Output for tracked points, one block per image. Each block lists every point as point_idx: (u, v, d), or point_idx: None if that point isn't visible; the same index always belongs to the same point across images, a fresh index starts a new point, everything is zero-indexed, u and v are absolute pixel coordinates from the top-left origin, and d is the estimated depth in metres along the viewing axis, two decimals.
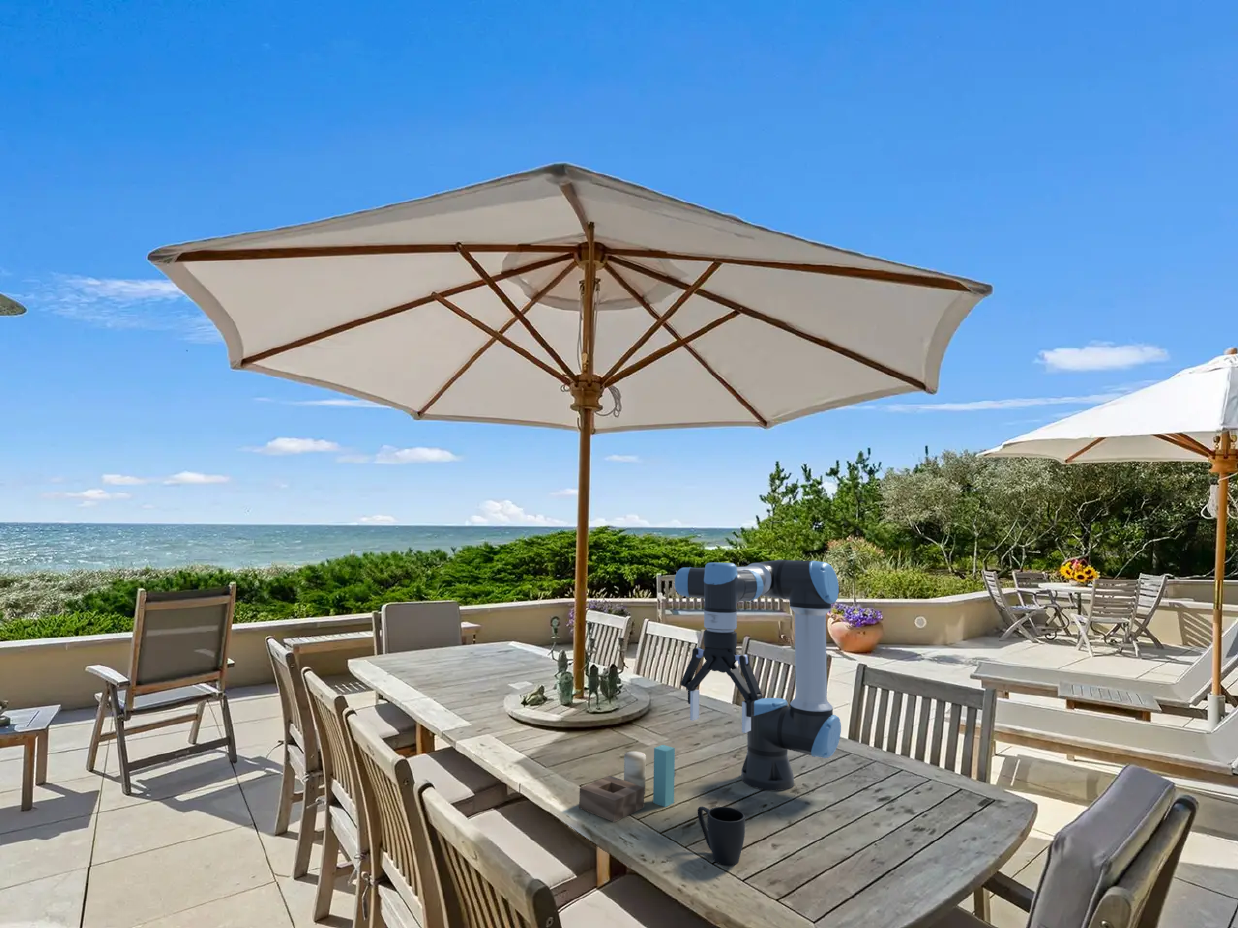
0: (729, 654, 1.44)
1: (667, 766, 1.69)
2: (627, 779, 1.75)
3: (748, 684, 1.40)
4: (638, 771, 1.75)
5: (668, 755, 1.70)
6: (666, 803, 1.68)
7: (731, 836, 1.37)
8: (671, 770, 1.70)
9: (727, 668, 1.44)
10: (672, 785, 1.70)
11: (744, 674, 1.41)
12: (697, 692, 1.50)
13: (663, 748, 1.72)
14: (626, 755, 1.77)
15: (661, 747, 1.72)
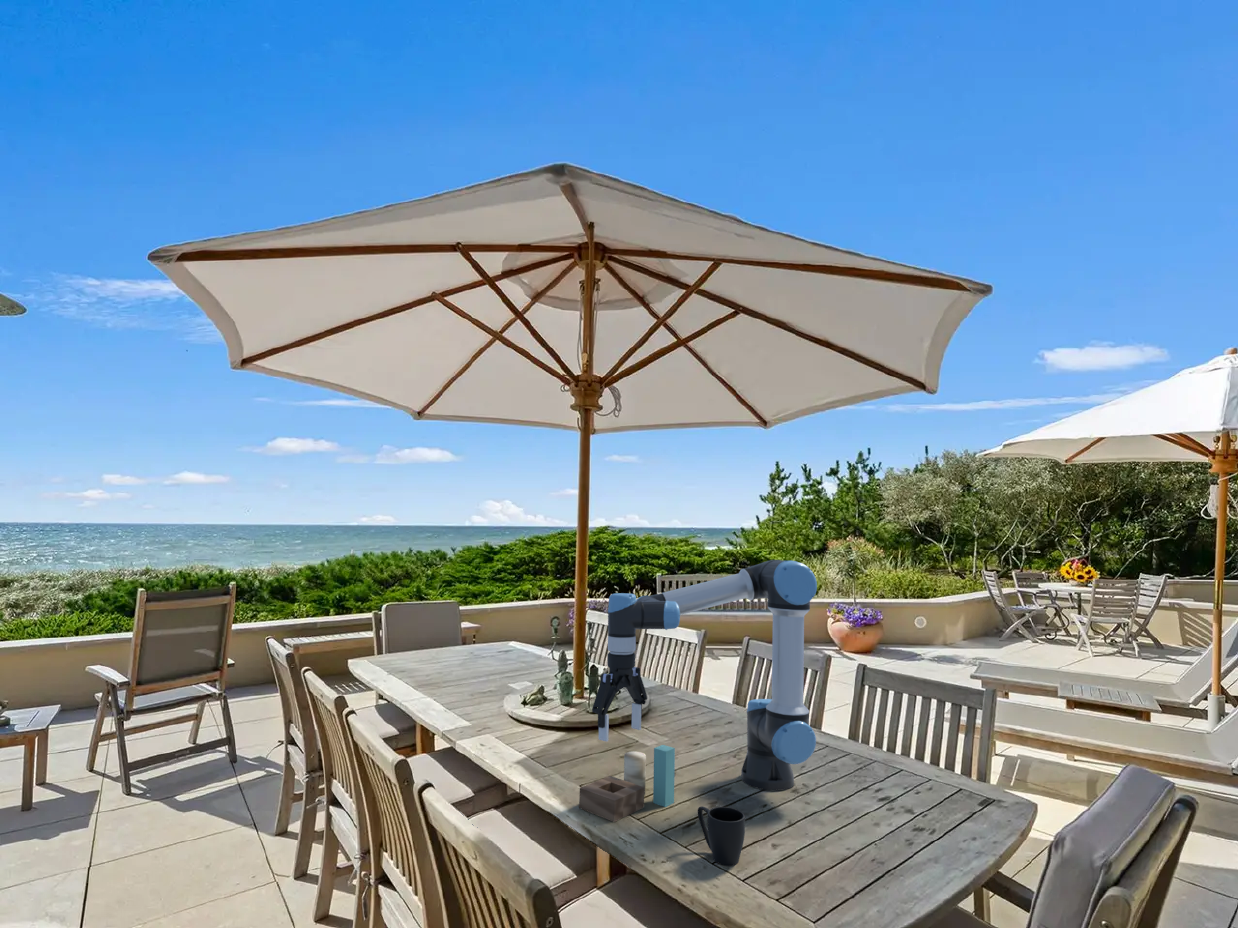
0: None
1: (667, 766, 1.69)
2: (627, 779, 1.75)
3: None
4: (638, 771, 1.75)
5: (668, 755, 1.70)
6: (666, 803, 1.68)
7: (731, 836, 1.37)
8: (671, 770, 1.70)
9: None
10: (672, 785, 1.70)
11: None
12: (637, 706, 1.74)
13: (663, 748, 1.72)
14: (626, 755, 1.77)
15: (661, 747, 1.72)
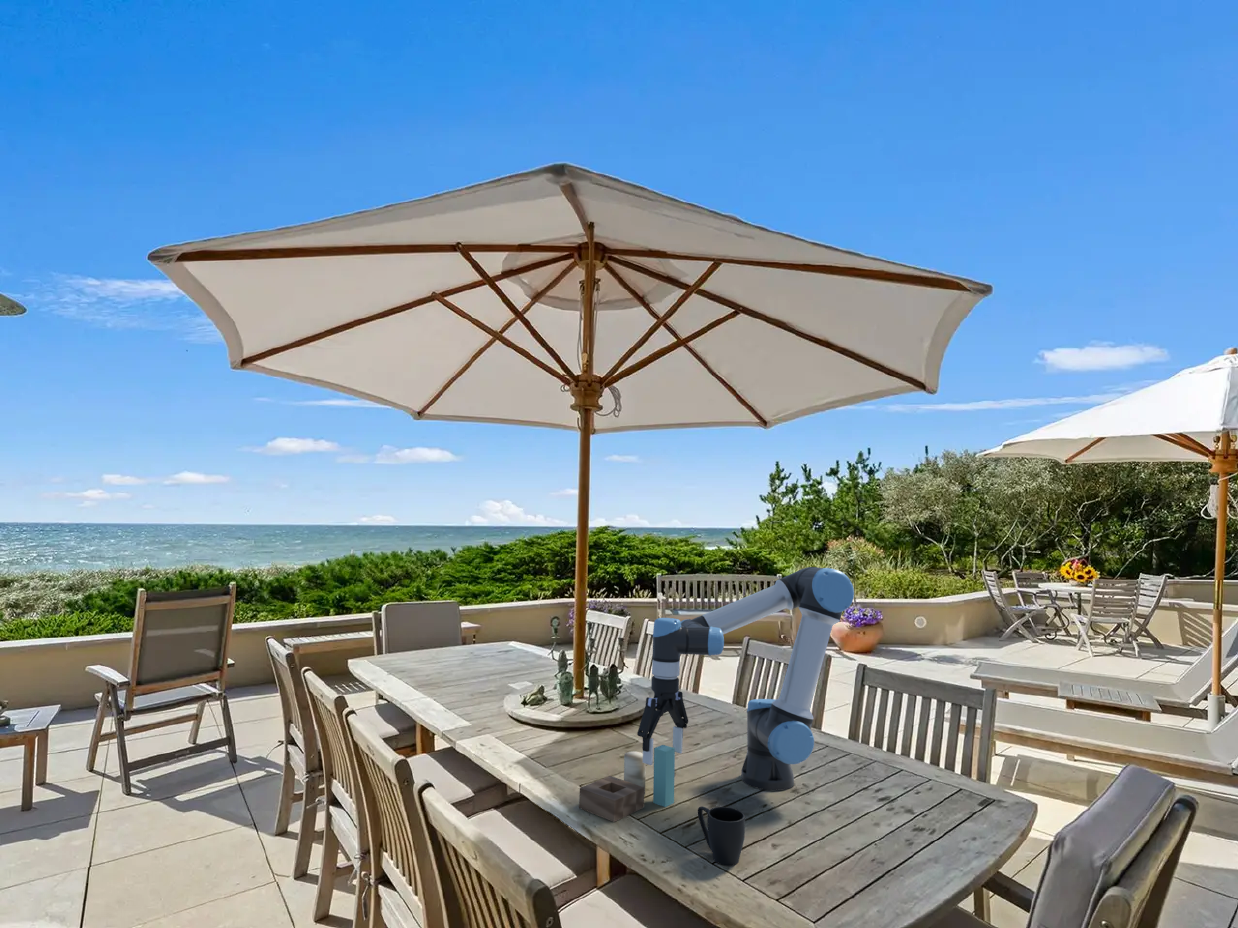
0: None
1: (667, 766, 1.69)
2: (627, 779, 1.75)
3: None
4: (638, 771, 1.75)
5: (668, 755, 1.70)
6: (666, 803, 1.68)
7: (731, 836, 1.37)
8: (671, 770, 1.70)
9: None
10: (672, 785, 1.70)
11: None
12: (678, 729, 1.77)
13: (663, 748, 1.72)
14: (626, 755, 1.77)
15: (661, 747, 1.72)
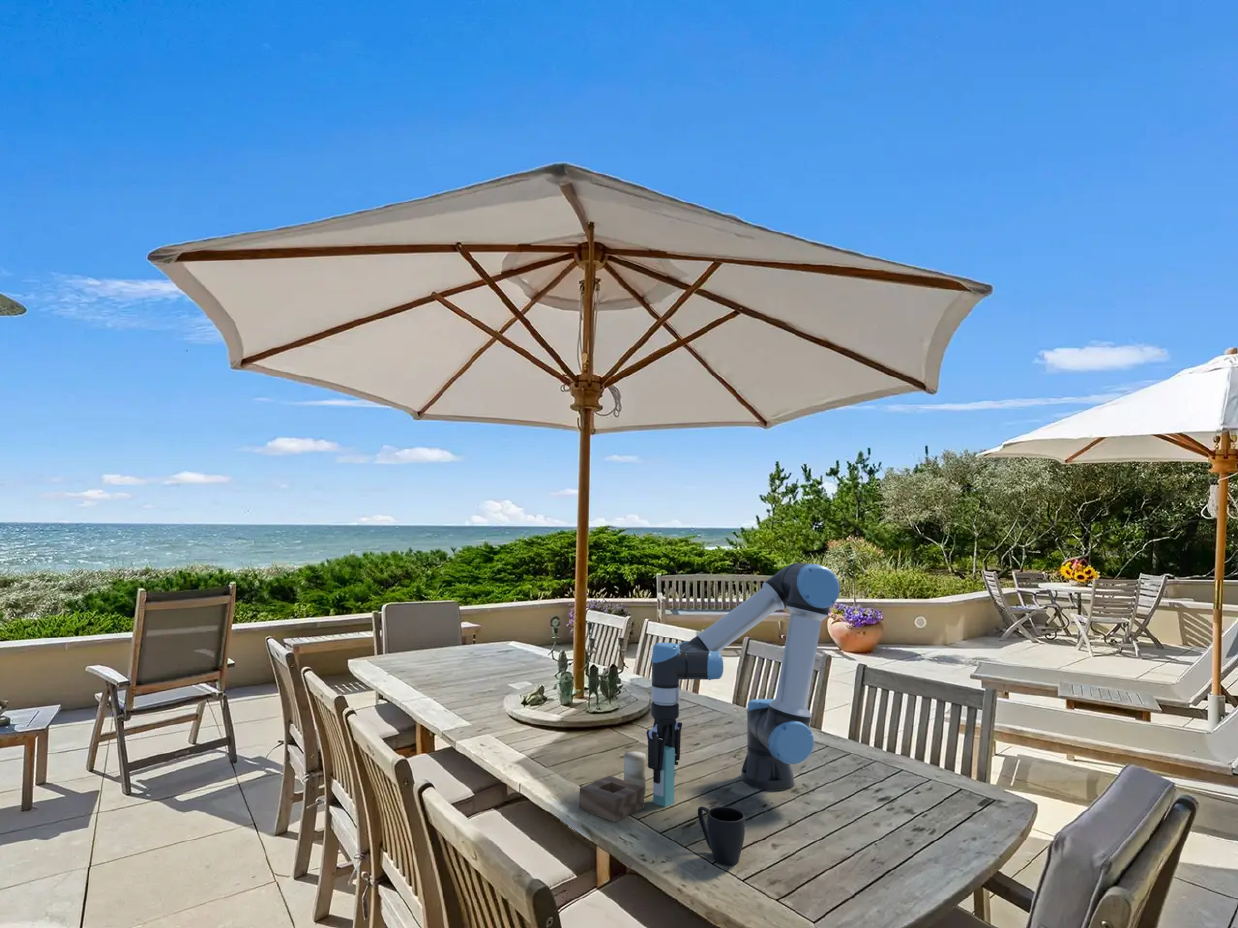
0: None
1: (667, 766, 1.69)
2: (627, 779, 1.75)
3: None
4: (638, 771, 1.75)
5: (668, 755, 1.70)
6: (666, 803, 1.68)
7: (731, 836, 1.37)
8: (671, 770, 1.70)
9: None
10: (672, 785, 1.70)
11: None
12: None
13: None
14: (626, 755, 1.77)
15: None
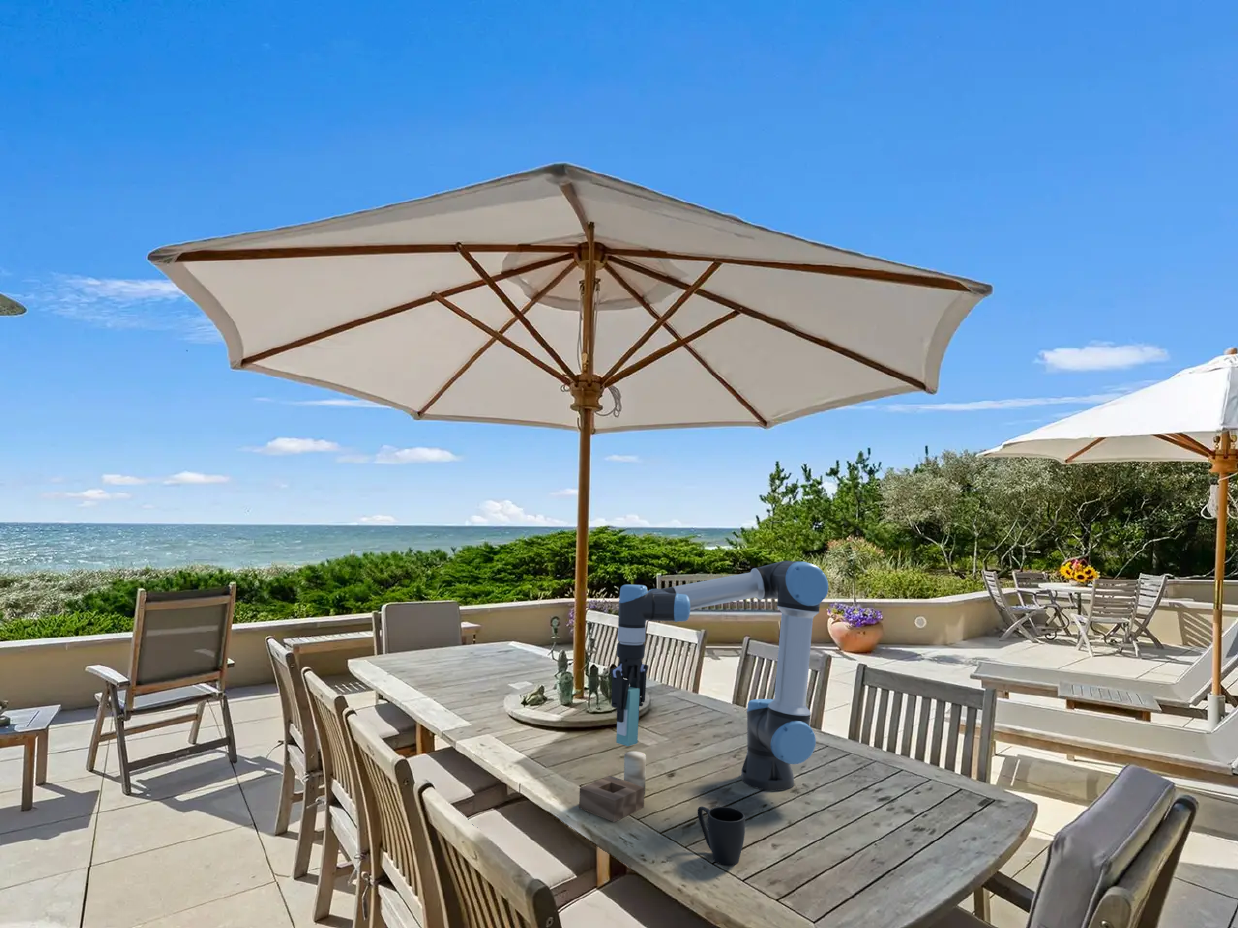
0: None
1: (631, 705, 1.68)
2: (627, 779, 1.75)
3: None
4: (638, 771, 1.75)
5: (632, 694, 1.69)
6: (629, 742, 1.67)
7: (731, 836, 1.37)
8: (635, 710, 1.70)
9: None
10: (636, 725, 1.69)
11: None
12: None
13: None
14: (626, 755, 1.77)
15: None
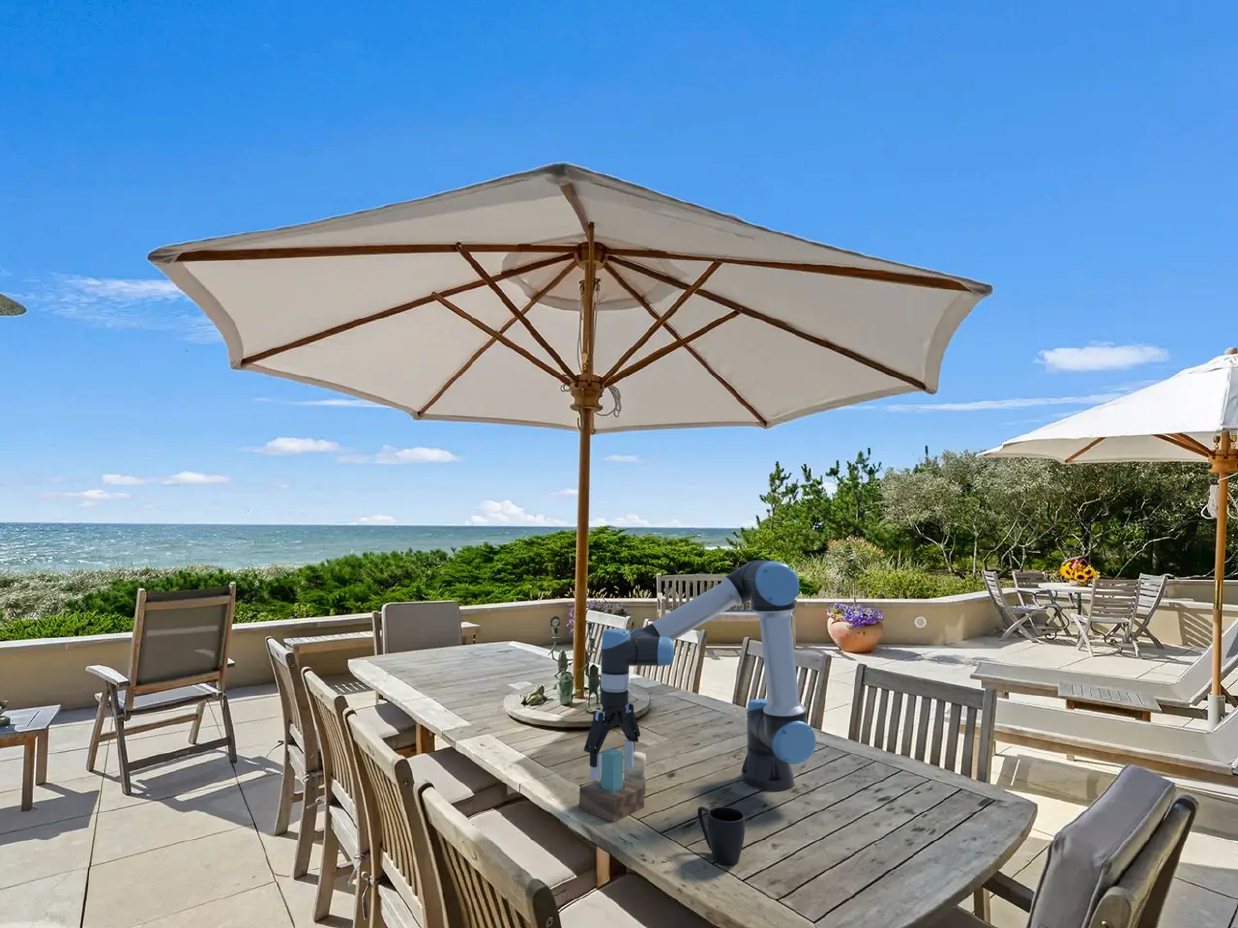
0: None
1: (614, 770, 1.65)
2: (627, 779, 1.75)
3: None
4: (638, 771, 1.75)
5: (615, 759, 1.66)
6: None
7: (731, 836, 1.37)
8: (619, 774, 1.66)
9: None
10: (620, 789, 1.66)
11: None
12: (629, 743, 1.73)
13: (611, 752, 1.67)
14: None
15: (609, 751, 1.68)
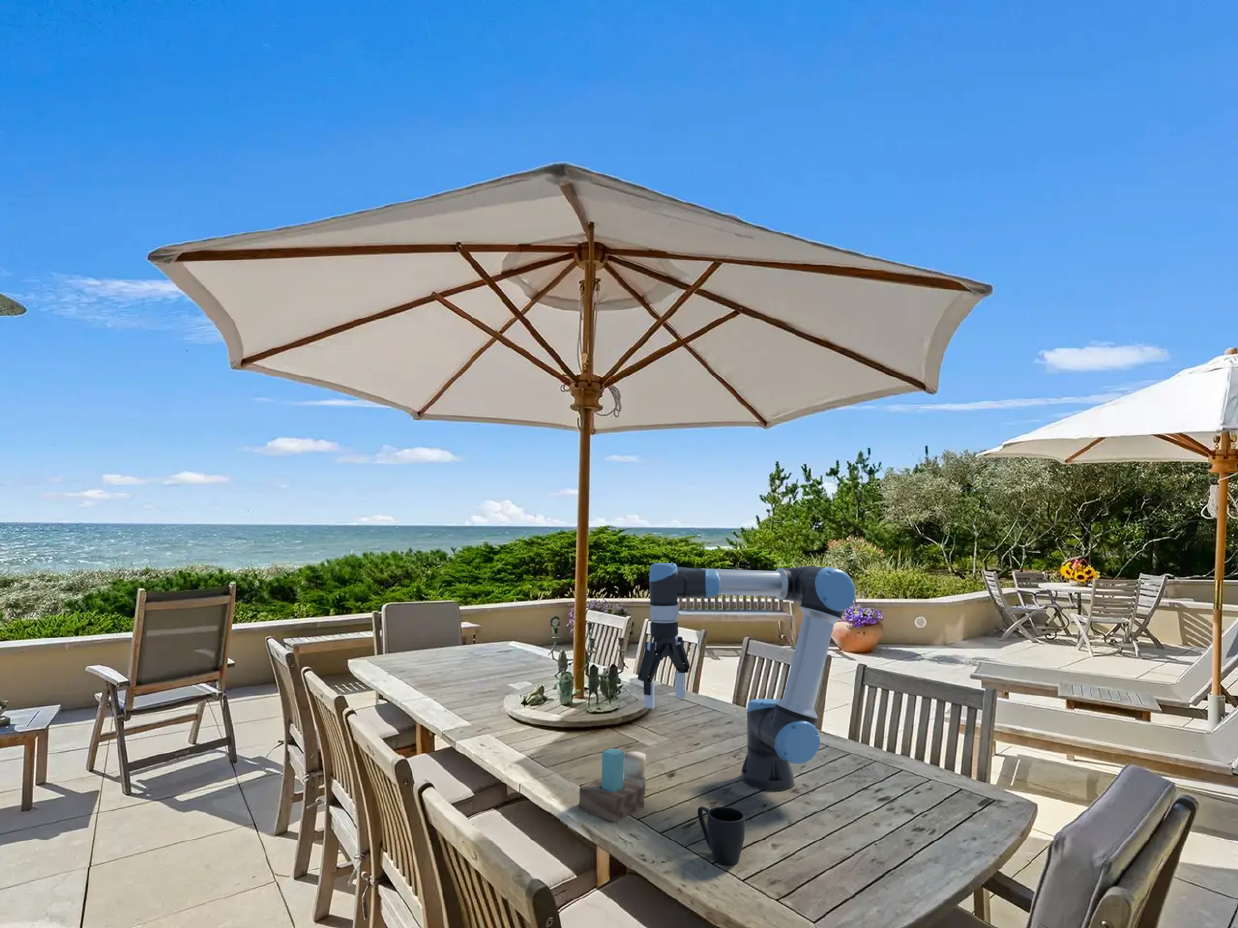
0: None
1: (615, 770, 1.65)
2: (627, 779, 1.75)
3: None
4: (638, 771, 1.75)
5: (616, 758, 1.66)
6: None
7: (731, 836, 1.37)
8: (619, 774, 1.67)
9: None
10: (620, 789, 1.66)
11: None
12: (680, 675, 1.75)
13: (612, 751, 1.68)
14: (626, 755, 1.77)
15: (610, 751, 1.68)
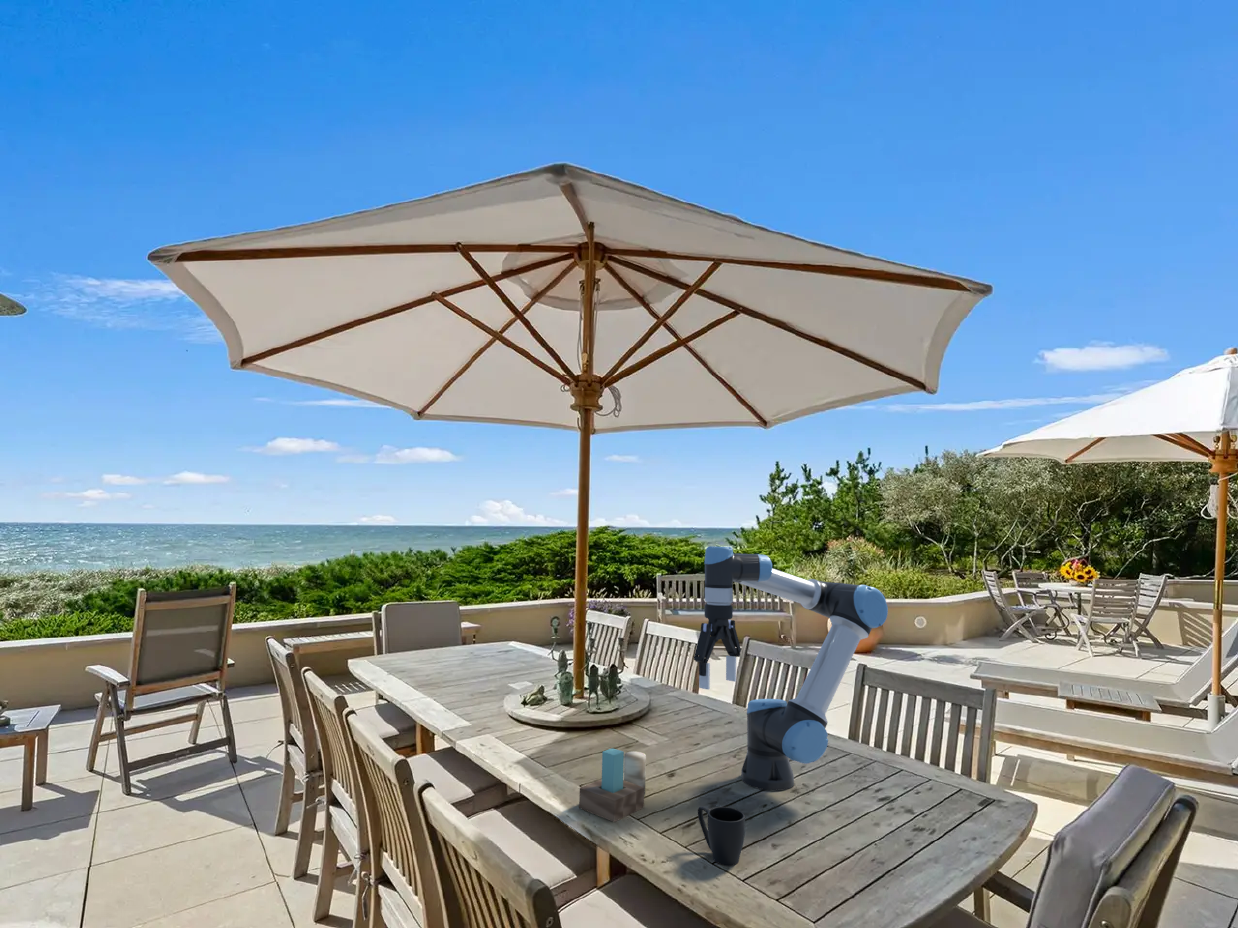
0: None
1: (615, 770, 1.65)
2: (627, 779, 1.75)
3: None
4: (638, 771, 1.75)
5: (616, 758, 1.66)
6: None
7: (731, 836, 1.37)
8: (619, 774, 1.67)
9: None
10: (620, 789, 1.66)
11: None
12: (732, 658, 1.76)
13: (612, 751, 1.68)
14: (626, 755, 1.77)
15: (610, 751, 1.68)
